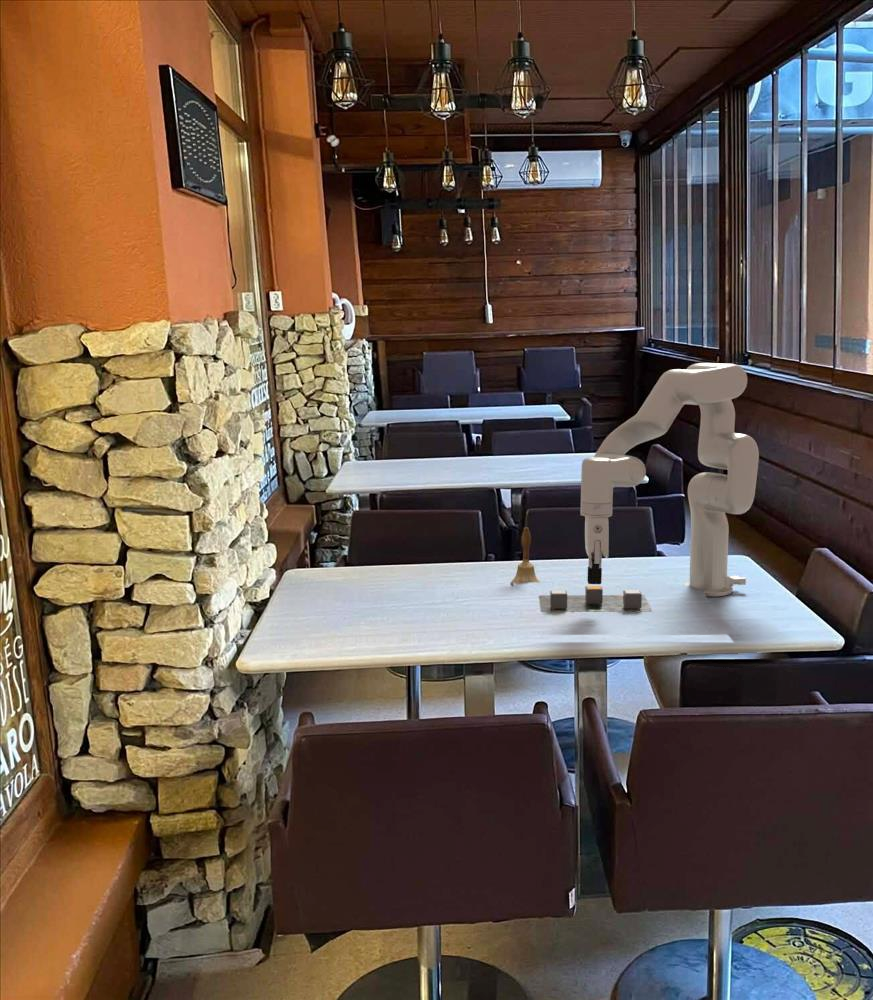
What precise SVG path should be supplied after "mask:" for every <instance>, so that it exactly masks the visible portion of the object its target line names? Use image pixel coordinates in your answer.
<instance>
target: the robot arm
mask: <svg viewBox="0 0 873 1000" xmlns="http://www.w3.org/2000/svg"><path fill="white" fill-rule="evenodd" d="M747 384H748V375H747V373H746V370H745V369H744V368H743V367H742V366H740V365H738V364H734V363H716V362H698V363H697V362H696V363H693V364H691V365H689V366H688V367H686V369H685V368H684V369H681V368H676V369H675V368H674V369H669V370H667V371H665V372H663V373H662V375H660V376H659V379H658V380H657V382H656V384H654V386H653V388H652V390H651V391H650V393H649V394H648V396H647V397H646V399H645V400H644V402H643V404H642V405H641V407H640V408H639V410H638V411H637V413H636V414H635V415H633V416H632V417H630V418H629V419H627V420H626V421H625V422H623V423H622V424H620V425H619V426H617V428H615V429H614V430H612V432H611V431H610V433H609V434H608V435H607V436H606V437H605V439H604V440H603V441H602V442H601V444H600V446H599V448H598V449H597V451H596V452H595V454H594V455H593V456H591V457H585V458H584V459H583V460H582V462H581V479H580V480H581V482H580V513H579V514H580V516H583V517H584V518H585V520H584V544H585V545H584V547H585V552H586V555H587V557H588V566H587V584H589V585H601V584H602V576H603V574H602V573H603V572H602V569H603V568H602V559H603V557H605V559H608V558H609V556H610V555H609V553H610V550H609V547H610V545H609V543H610V542H609V537H610V536H609V535H610V534H609V529H610V528H609V518H610V517H612V516H613V504H614V503H613V499H614V498H613V494H614V488H615V487H621V488H622V487H623V488H631V487H632V488H634V487H635V486H636V487H637V486H638V485H640V484H641V483H642V482H643V481H644V479H645V477H646V475H647V474H646V473H647V469H646V465H645V464H644V462H643V461H642V460H641V459H639V458H638V457H635V456H633V455H627V454H626V453H627V452H629V451H630V450H631V449H633V448H635V447H636V446H637V445H640V444H643V443H645V442H648V441H651V440H655V439H657V438H659V437H662V436H663V435H665V434H666V433H667V432H668V431H669V429H670V427H671V426H672V424H673V422H674V420H675V419H676V417H677V416H678V415H679V413H680V411H681V409H682V408H683V407H684V405H692V406H699V409H700V425H699V435H698V445H697V457H698V461H699V462H700V464H702V465H704V466H706V467H708V468H709V467H710V468H715V469H720V470H727V474H723V473H719V472H718V473H717V472H712V471H711V472H709V471H708V472H707V471H706V472H705V471H704V472H700V473H698V474H696V475H694V476H693V477H692V478H691V479H690V481H689V483H688V486H687V498H688V504H689V509H690V544H689V545H690V546H689V547H690V549H689V581H687V582H685V583H684V584H683V586H687V587H688V586H690V587H691V588H693V589H696V590H701V591H702V592H703V594H704V595H705V596H706V597H709V598H710V597H713V598H715V597H724V596H728V595H730V594H732V593H733V589H734V585H740V586H741V585H742V586H744V585H746V584H747V582H746V581H747V580H746V577H739V575H737V576H736V575H733V576H730V575H729V573H728V562H729V561H728V556H729V553H728V552H729V530H730V529H729V528H730V527H729V522H728V521H729V520H728V517H727V515H726V514H732V515H742V514H745V513H747V511H749V510H750V509H751V507H752V505H753V503H754V500H755V495H756V488H757V487H756V486H757V477H758V470H759V459H760V453H759V447H758V444H757V442H756V441H755V439H754V438H753V437H752V436H750V435H748V434H745V433H738V432H735V424H736V421H735V420H736V410H735V407H734V402H733V401H732V400H733V399H736V398H738V397H740V396H741V395H742V394H743V393H744V391H746V390H745V389H746V388H747V386H748V385H747Z"/></svg>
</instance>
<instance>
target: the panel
mask: <svg viewBox="0 0 873 1000" xmlns="http://www.w3.org/2000/svg"><path fill="white" fill-rule="evenodd" d="M538 598H539V599H538V600H539V607H540V612H541V613H551V612H553V613H554V612H555V613H557V612H558V613H560V612H561V613H562V612H563V613H566V612H568V613H574V612H575V613H579V612H580V613H583V612H585V613H586V612H587V613H588V612H589V613H590V612H592V613H593V612H598V613H599V612H603V613H607V612H609V613H611V612H614V613H616V612H620V613H621V612H622V613H623V612H636V613H637V612H652V613H653V609H652V607H651V606H650V604H649V602H648V600H647V597H646V596H645V594H642V605H641V608H625V607H624V605H623V594H612V595H611V594H605V595H604V594H603V603H586V600H585V594H584V595H583V594H581V595H580V594H578V595H577V594H575V595H573V594H572V595H570V594H569V595H568V594H567V608H551V606H550V594H549V595H547V594H546V595H545V594H544V595H538Z"/></svg>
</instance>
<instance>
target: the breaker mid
mask: <svg viewBox="0 0 873 1000" xmlns="http://www.w3.org/2000/svg"><path fill="white" fill-rule="evenodd" d="M584 588H585V593H584V595H585V600H586V603H603V595H604V594H603V593H604V589H603V587H602V585H586V586H584Z"/></svg>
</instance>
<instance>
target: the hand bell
mask: <svg viewBox="0 0 873 1000" xmlns="http://www.w3.org/2000/svg"><path fill="white" fill-rule="evenodd" d="M520 540H521V545H522V552H523V553H522V554H523V555H522V562H520V563H518V564H517V570H516V574H515V576H514V577H513V579H512V580H511V581H510V585H512V586H514V583H541V581H540V580H539V579H538V577H537V575H536V571H535V565H534V564H533V563H532V562H530V547H531V542H532V536H531V532H530V528H529V527H527V526H526V527H523V529H522V532H521V539H520Z"/></svg>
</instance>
